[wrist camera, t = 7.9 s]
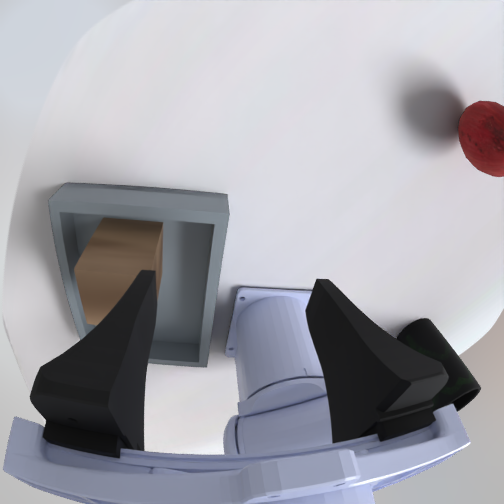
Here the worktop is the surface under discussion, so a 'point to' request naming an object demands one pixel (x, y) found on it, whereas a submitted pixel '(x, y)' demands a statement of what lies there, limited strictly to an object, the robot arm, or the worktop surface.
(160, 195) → the tray
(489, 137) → the pomegranate
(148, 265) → the block
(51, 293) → the worktop surface
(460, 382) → the cup
